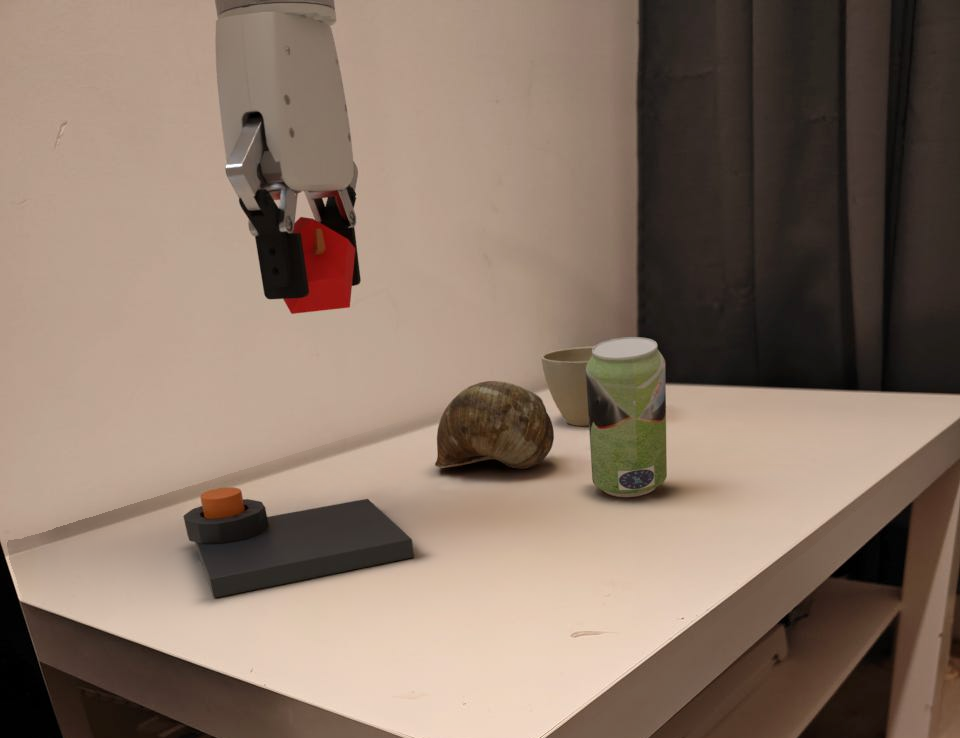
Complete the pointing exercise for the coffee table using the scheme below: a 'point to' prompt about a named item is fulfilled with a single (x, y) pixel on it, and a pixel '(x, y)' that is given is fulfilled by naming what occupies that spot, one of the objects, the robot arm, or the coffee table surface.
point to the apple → (324, 268)
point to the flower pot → (568, 382)
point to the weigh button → (222, 502)
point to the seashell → (494, 427)
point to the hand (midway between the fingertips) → (315, 290)
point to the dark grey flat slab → (292, 544)
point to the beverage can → (627, 416)
